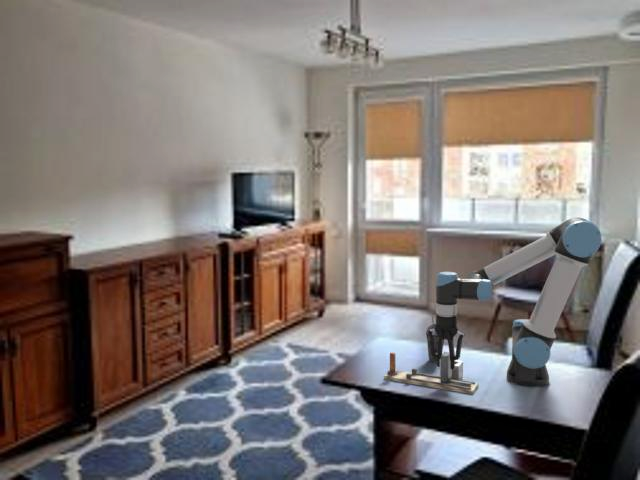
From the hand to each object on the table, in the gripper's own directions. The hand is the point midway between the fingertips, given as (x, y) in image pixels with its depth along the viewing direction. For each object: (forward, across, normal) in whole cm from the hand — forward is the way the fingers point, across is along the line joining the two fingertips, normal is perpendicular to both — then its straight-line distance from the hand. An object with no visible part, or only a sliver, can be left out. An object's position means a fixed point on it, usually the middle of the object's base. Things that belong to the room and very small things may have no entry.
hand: (445, 376), depth 213 cm
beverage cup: (+4, +12, -25) cm, 28 cm away
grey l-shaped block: (+2, -4, 0) cm, 5 cm away
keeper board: (+4, +6, 0) cm, 7 cm away
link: (+4, 0, -9) cm, 10 cm away
